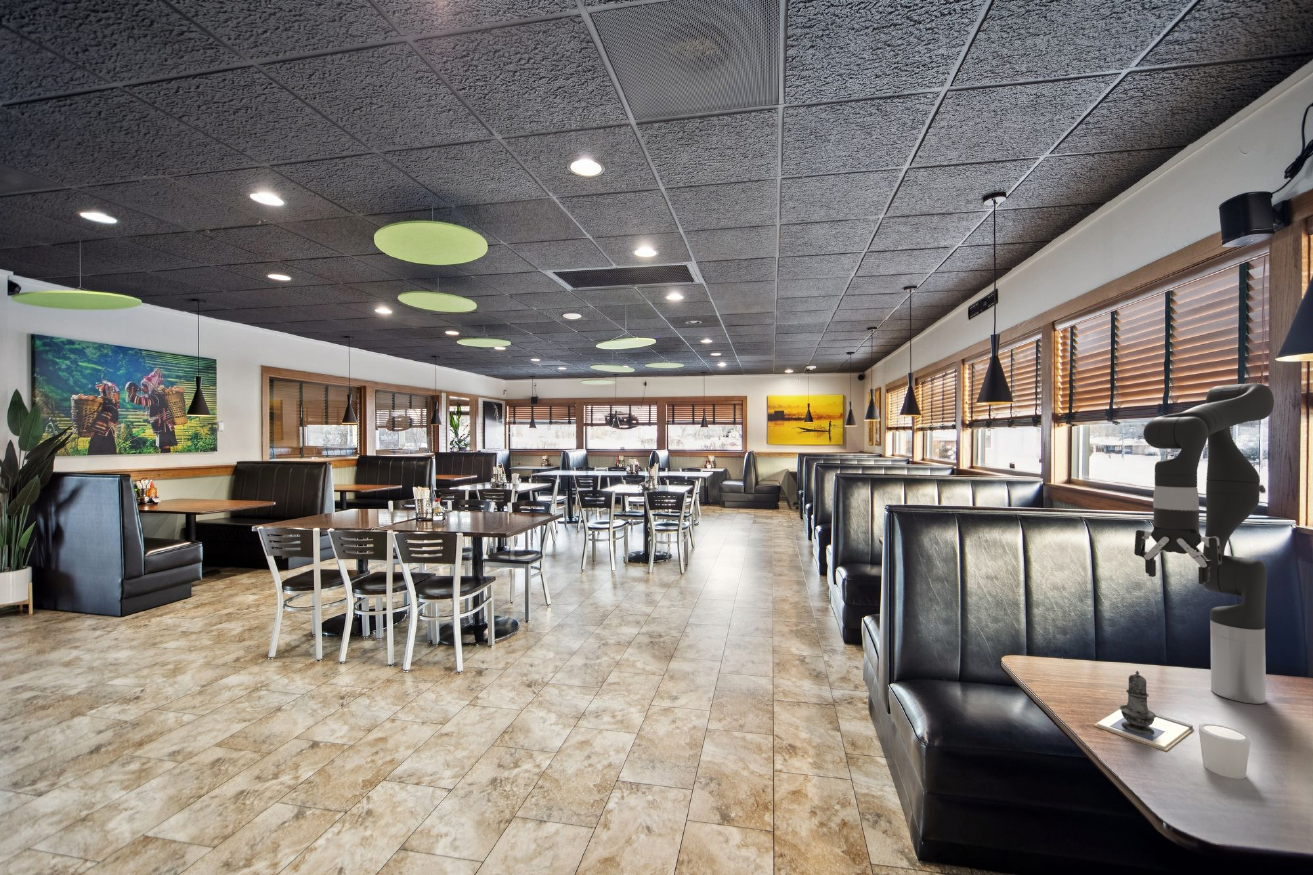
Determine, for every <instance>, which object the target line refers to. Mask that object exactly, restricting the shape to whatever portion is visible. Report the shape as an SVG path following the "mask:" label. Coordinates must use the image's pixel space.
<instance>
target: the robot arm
mask: <svg viewBox="0 0 1313 875" xmlns="http://www.w3.org/2000/svg"><path fill="white" fill-rule="evenodd" d="M1206 394H1207V395H1206V398H1205V403H1203V404H1199V405H1196V406H1193V407H1191V408H1189V409H1186V410H1184V411H1182V412H1177V413H1172V414H1167V415H1165V414H1164V415H1160V416H1157V417H1155V418H1152V419H1151V420H1150V421H1149V422H1147V424H1146V425H1145V426H1144V428H1143V438H1144V441H1145V443H1146V444H1148V445H1149V446H1151V447H1152V448H1155V449H1161V450H1164V449H1165V450H1168V449H1169V450H1178V449H1179V450H1180V452H1179V454H1178V455H1177V456H1176V457H1173V458H1168V459H1162V460H1159V461H1157V462H1156V463H1155V464H1154V490H1153V500H1152V506H1153V509H1152V510H1153V529H1152V531H1150V530H1145V529H1143V528H1142V529H1140V528H1139V529H1137V530H1135V535H1134V536H1135V537H1134V552H1133V553H1134V555H1135V556H1139V557H1141V558H1142V559H1144V569H1145V573H1146V574H1148V577H1150V578H1155V577H1156V576H1157V561H1156V559H1155V558H1156V557H1157V556H1158V555H1159V554H1160V553H1162V552H1163V551H1164V552H1165V553H1177V554H1181V555H1186V554H1188V555H1189V557H1191V559H1194V561H1195V562H1196V563H1197V565H1199V566H1198V584H1199V585H1203V587H1204V589H1206V590H1207V591H1209V592H1214V593H1220V594H1225V595H1231V596H1236V597H1242V602H1240V603H1237V604H1234V605H1226V606H1225V605H1223V606H1215V607H1212V608H1211V609H1210V611H1209V614H1210V615H1209V620H1210V622H1209V624H1210V629H1209V630H1210V631H1209V632H1210V691H1212V693H1214V694H1215V695H1218V696H1220V697H1222V698H1226V699H1228V700H1232V701H1237V702H1240V703H1246V704H1254V705H1260V704H1265V703H1266V700H1267V699H1266V698H1267V696H1266V695H1267V694H1266V693H1267V692H1266V691H1267V690H1266V688H1267V686H1266V685H1267V683H1266V681H1267V680H1266V678H1267V677H1266V672H1267V671H1266V670H1267V669H1266V668H1267V667H1266V609H1267V608H1266V603H1267V602H1266V601H1267V600H1266V599H1267V598H1266V597H1267V588H1268V587H1267V585H1268V574H1267V573H1268V572H1267V571H1268V570H1267V568H1266V565H1265V564H1264V562H1262V561H1261V560H1260V559H1256V558H1248V557H1241V556H1234V555H1226V554H1225V550H1226V546H1227V543H1228V542H1229V539H1230V538H1231V536H1232V534H1233V533H1234V531H1236V530H1237V529H1238V527H1240V526H1241V525H1242V524H1243V523H1244V522H1245V520H1247V519H1248V518H1249V517H1250V516H1251V515H1252V514H1253V512H1254V511H1255V510H1256V509H1257V507H1258V505H1259V503H1260V494H1261V493H1260V490H1261V488H1260V486H1261V481H1260V480H1261V479H1260V478H1261V477H1260V475H1259V472H1258V471H1257V470H1256V468H1255V467H1254V465H1253V464H1252V463H1251V462H1250V460H1249V459H1248V458H1247V457H1246V456H1245V455H1244V453H1243V452H1242V451H1241V450H1240V449H1239V448H1238V446H1237V444H1236V443H1235V442H1234V438H1233V436H1232V433H1231V427H1233V426H1238V425H1240V424H1244V423H1248V422H1256V421H1261V420H1264V419H1267V418H1268V417H1269V416H1270V415H1271V414H1272V413H1273V410H1274V406H1275V400H1274V394H1273V391H1272V390H1271V389H1270V387H1269V386H1267V385H1265V384H1262V383H1256V382H1254V383H1252V382H1251V383H1239V384H1238V383H1237V384H1224V385H1217V386H1213V387H1211V388H1210V389H1209V390H1208V392H1207V393H1206ZM1206 443H1207V469H1206V480H1205V486H1206V487H1205V492H1206V493H1205V498H1206V500H1205V503H1206V504H1205V507H1206V508H1205V513H1206V514H1205V531H1204V532H1205V534H1204V536H1202V535H1201V532H1200V497H1199V492H1198V468H1199V465H1200V464H1199V463H1200V460H1201V456H1202V454H1203V451H1204V448H1205V446H1206ZM1150 537H1151V538H1152V540H1154V542H1155V544H1154V545H1153V546H1152V547H1151V548H1150V550H1148V551H1146V541H1148V540H1150V539H1149V538H1150ZM1201 543H1203V549H1202V550H1203V551H1201V550H1200V548H1199V547H1198V546H1199V545H1200V544H1201Z"/></svg>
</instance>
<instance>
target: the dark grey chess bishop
mask: <svg viewBox="0 0 1313 875" xmlns="http://www.w3.org/2000/svg"><path fill="white" fill-rule="evenodd" d="M1134 673H1135V674H1130V675H1129V676H1128V689H1126V693H1127V697H1128V698H1127V699H1128V700H1127V703H1126V705H1125V704H1122V705H1120V706H1119V707H1118V708H1119V709H1120V710H1121V712H1122V715H1123V717H1124V718H1125V719H1126V720H1127V721H1126V722H1123V723H1122V724H1121V725H1122V727H1124V728H1125V729H1127V730H1129V731H1131V732H1134V733H1138V734H1143V735H1153V734H1154V730H1152V729H1151V728H1150V727H1148V726H1149V725H1151V724H1152V723H1153V721H1154V718H1156V714H1157V713H1155V712H1153V711H1151V710H1150V709H1149V707H1148V697H1149V695H1150V694H1148V693H1147V680H1146V678H1145V677H1143V676H1142V675H1140V672H1139V671H1138V670H1136V671H1135V672H1134Z"/></svg>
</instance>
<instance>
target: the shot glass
mask: <svg viewBox="0 0 1313 875" xmlns="http://www.w3.org/2000/svg"><path fill="white" fill-rule="evenodd" d="M1197 728H1198V734H1199V744H1200V750H1201V757H1202V765H1203V766H1204V768H1205V769H1207V770H1209V772H1210V771H1211V772H1212V773H1215V774H1217V775H1219V776H1223V777H1226V778H1231V779H1236V780H1237V779H1238V780H1243V779H1246V777H1247V771H1248V763H1249V756H1250V755H1249V753H1250V746H1251V738H1250V736H1248V734H1246V733H1244V732H1242V731H1239V730H1236V729H1235V728H1232V727H1229V726H1225V725H1220V724H1215V723H1202V724H1201V723H1200V724H1199V725H1198V727H1197Z"/></svg>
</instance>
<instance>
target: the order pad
mask: <svg viewBox="0 0 1313 875" xmlns="http://www.w3.org/2000/svg"><path fill="white" fill-rule="evenodd" d="M1124 705H1127V703H1125V704H1124ZM1155 714H1156V718H1154V721H1153V723H1152V724H1151V725H1149V726H1148V727H1150V728H1151V729H1152V730H1154V734H1153V735H1143V734H1138V733H1134V732H1131V731H1129V730H1127V729H1125V728H1124V727H1122V725H1121V724H1122V723H1123V722H1126V721H1127V720H1126V719H1125V718H1124V717H1123V715H1122V712H1121V710H1120V708H1119V709H1118V710H1116V711H1114V712H1112V713H1111V714H1109V715H1108V716H1106V717H1104V718H1102V719H1100V721H1099V720H1098V722H1096V723H1094V724H1093V727H1096V728H1098V729H1100V730H1104V731H1106V732H1110V733H1111V734H1115V735H1118V736H1121V737H1123V738H1126V739H1130V740H1132V741H1135V742H1138V743H1140V742H1141V744H1143V745H1146V744H1147V746H1150V747H1152V748H1155V749H1158V750H1160V751H1164V752H1168V751H1170V749H1172V748H1173V747H1175V746H1176V745H1177V744H1178V743H1180V742H1181V741H1182V740H1183V739H1185V738H1186V737H1187V736H1188V735H1190V734H1191V733H1192V732H1194V731H1195V728H1194V725H1192V724H1190V723H1186V722H1183V721H1180V720H1176V719H1173V718H1170V717H1167V716H1164V715H1161V714H1158V713H1155Z"/></svg>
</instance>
